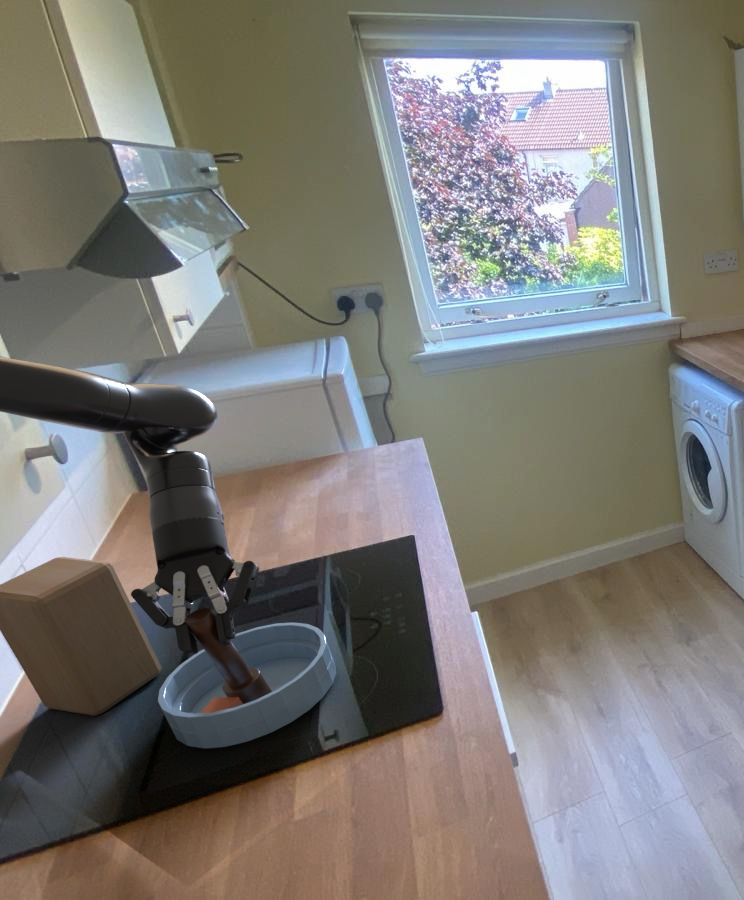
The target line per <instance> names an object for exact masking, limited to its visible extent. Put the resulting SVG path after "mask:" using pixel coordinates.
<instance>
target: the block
mask: <svg viewBox="0 0 744 900" xmlns="http://www.w3.org/2000/svg"><path fill="white" fill-rule="evenodd" d="M240 705H243V703H242V701H241V700H240V699H239V697H218V698H213V700H212V701H211V702H210V703H209V704H208V705H207V706H206V707H205V708H204V710H203V711H202V712H201V713H210V712H216V711H221V710H225V709H230V708H234V707H237V706H240Z"/></svg>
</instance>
